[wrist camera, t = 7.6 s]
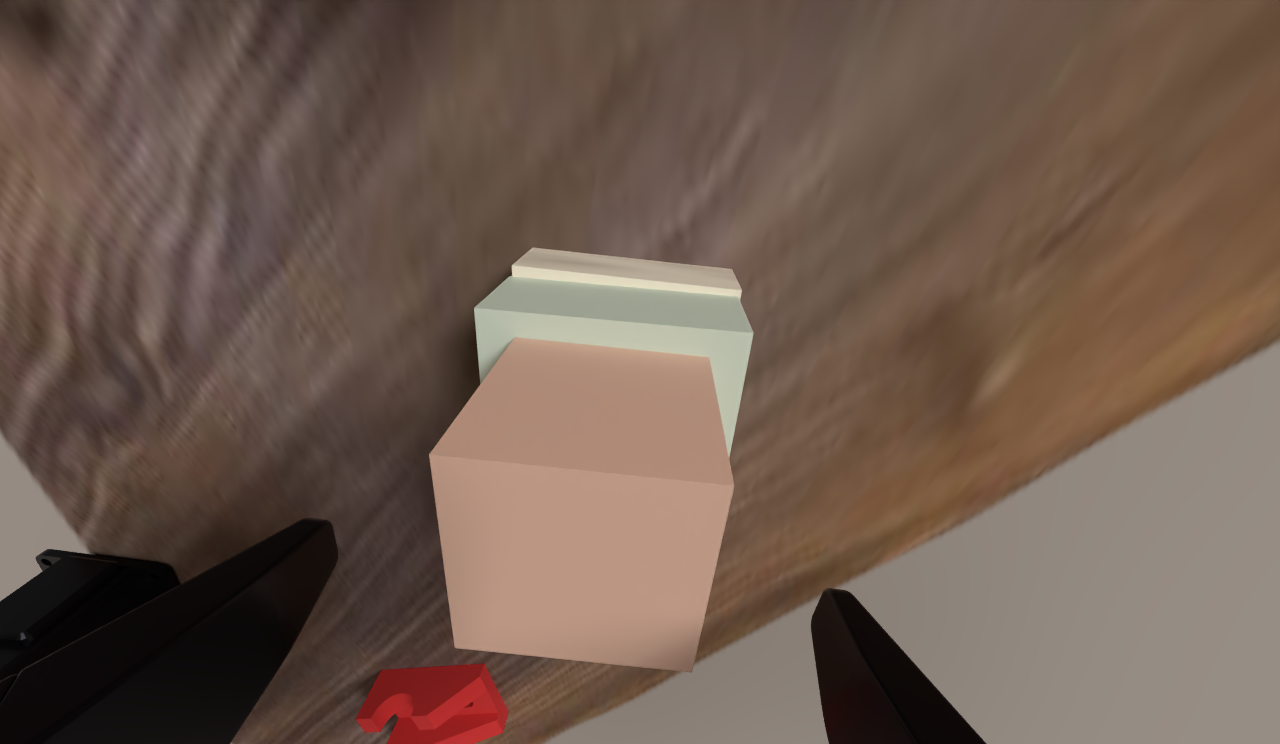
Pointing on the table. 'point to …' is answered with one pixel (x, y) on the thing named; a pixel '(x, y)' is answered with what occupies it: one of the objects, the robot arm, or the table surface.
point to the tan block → (584, 505)
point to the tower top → (622, 326)
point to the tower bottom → (625, 272)
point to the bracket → (435, 705)
